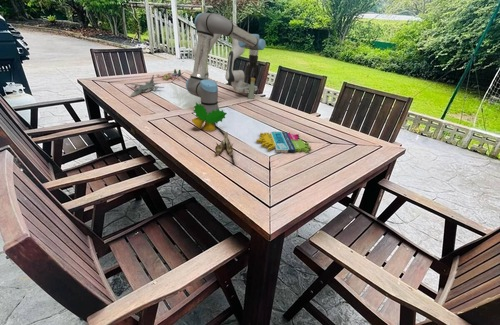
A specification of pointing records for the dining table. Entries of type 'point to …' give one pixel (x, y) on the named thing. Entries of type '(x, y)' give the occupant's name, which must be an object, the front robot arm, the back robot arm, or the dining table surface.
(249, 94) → the jar
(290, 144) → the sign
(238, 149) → the dining table surface
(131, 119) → the dining table surface
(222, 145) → the jawbone
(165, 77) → the toy
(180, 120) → the dining table surface
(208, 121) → the ornament
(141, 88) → the airplane
